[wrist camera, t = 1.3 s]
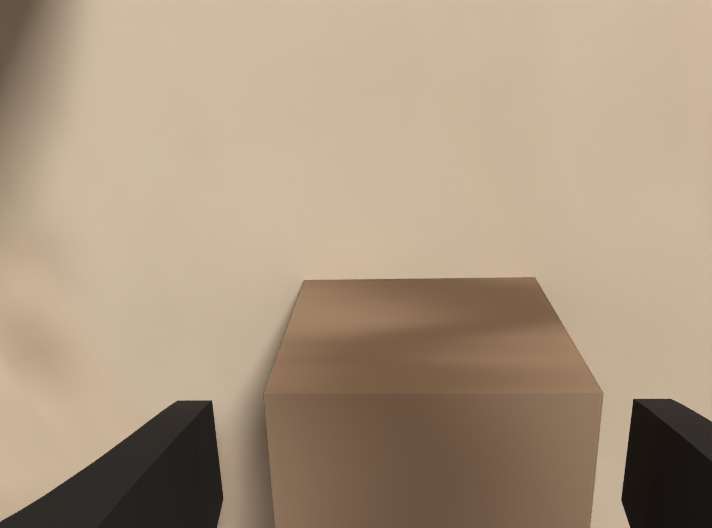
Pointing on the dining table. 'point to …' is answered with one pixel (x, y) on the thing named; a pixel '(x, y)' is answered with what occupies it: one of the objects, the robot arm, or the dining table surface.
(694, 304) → the dining table surface
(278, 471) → the walnut cube
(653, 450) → the robot arm
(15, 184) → the dining table surface
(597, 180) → the dining table surface
